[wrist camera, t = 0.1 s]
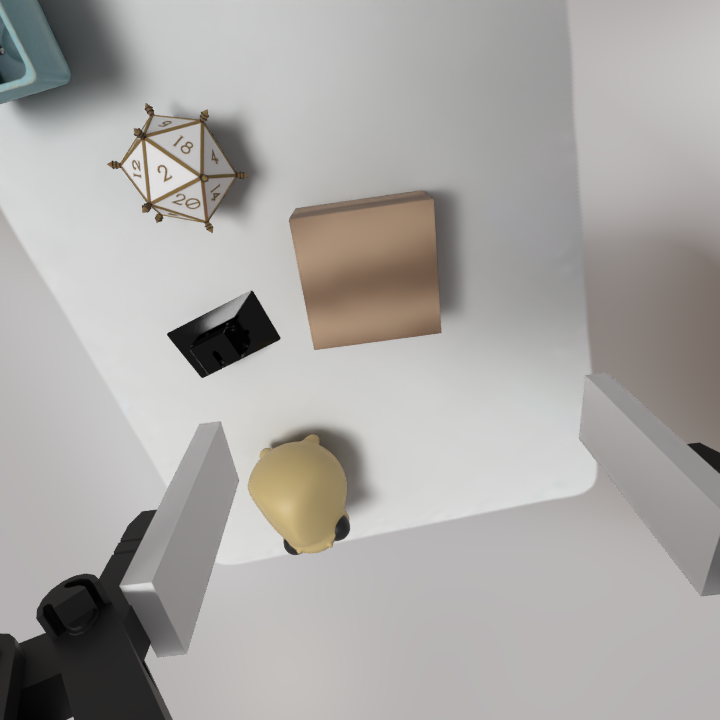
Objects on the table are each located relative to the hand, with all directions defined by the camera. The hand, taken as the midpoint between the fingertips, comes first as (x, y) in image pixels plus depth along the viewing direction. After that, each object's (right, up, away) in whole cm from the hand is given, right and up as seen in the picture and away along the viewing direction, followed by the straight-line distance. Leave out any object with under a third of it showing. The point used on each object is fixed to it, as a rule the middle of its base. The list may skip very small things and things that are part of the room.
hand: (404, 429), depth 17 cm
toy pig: (-8, -9, +36) cm, 38 cm away
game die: (-15, +19, +22) cm, 32 cm away
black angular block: (-15, +5, +29) cm, 33 cm away
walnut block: (-1, +12, +26) cm, 28 cm away
